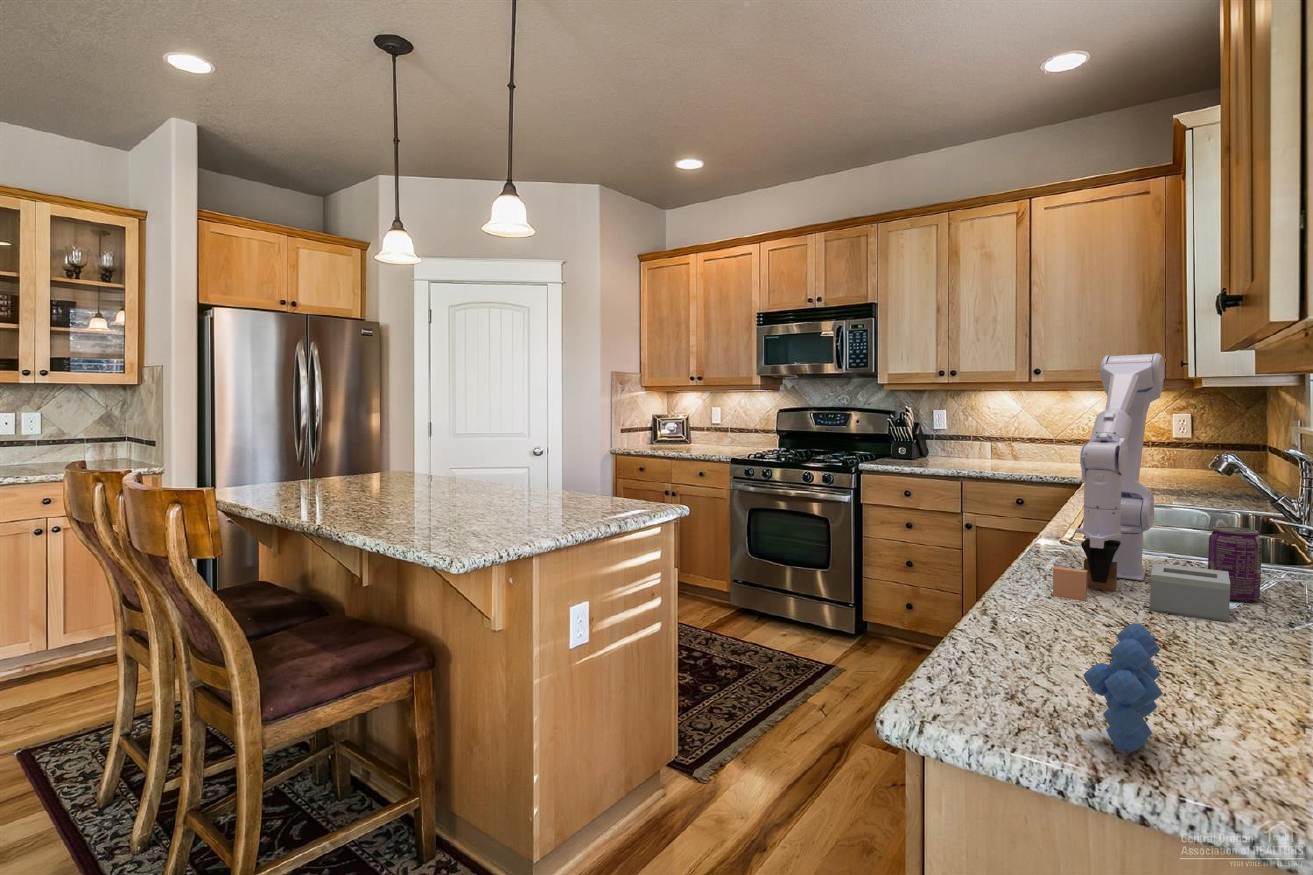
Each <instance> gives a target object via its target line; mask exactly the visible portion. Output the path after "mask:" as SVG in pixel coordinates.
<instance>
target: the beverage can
mask: <svg viewBox="0 0 1313 875" xmlns="http://www.w3.org/2000/svg"><path fill="white" fill-rule="evenodd" d="M1259 534H1260V531H1259V530H1256V529H1253V528H1247V527H1246V528H1245V527H1238V526H1226V525H1223V526H1221V525H1220V526H1213V527H1212V532H1211V534H1209V537H1208V552H1207V553H1208V555H1207V556H1208V557H1207V569H1211V570H1219V571H1228V573H1229V579H1230V601H1235V602H1251V601H1253V600H1257V599H1260V598H1261V582H1262V581H1261V579H1262V578H1261V577H1262V576H1261V574H1262V552H1263V551H1262V550H1263V542H1262V540H1261V538H1260V536H1259Z"/></svg>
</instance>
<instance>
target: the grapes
mask: <svg viewBox="0 0 1313 875" xmlns="http://www.w3.org/2000/svg"><path fill="white" fill-rule="evenodd" d="M1116 638H1117V639H1118V641H1119V642H1118V643H1117V644H1116V645H1114V646H1113V647H1112V648H1111V649H1110V650H1109V652H1110V655H1111V656H1112V657H1111V658H1110V659H1109V660H1110V661H1111V662H1110V663H1109V664H1106V663H1105V662H1099V663H1096V664H1095V665H1092V666H1091V667H1090V668H1089V669H1087V670H1086V671H1085V672H1084V673H1083V674H1082V675H1083V678H1084V680H1085V681H1086V683H1087V685H1088V687H1089V688H1090V690H1092V692H1093V693H1094V694H1097V695H1098V696H1101V697H1104V698H1105V701H1106V702H1105V705H1106V706H1107V707H1108V708H1107V709H1106V710H1105V711H1104V712H1103V713H1102V715H1103V716H1104V719H1105V721H1106V723H1107V724H1108V727H1107V728H1106V729H1105V730H1106V733H1107V735H1108V736H1109V738H1110V740H1111V741H1112V744H1114V746H1115V747H1116V749H1117V750H1119V751H1120V752H1122V753H1125V754H1130V753H1134V752H1136V751H1138V750H1139V749H1140V748H1141V747H1142V746H1144V744H1146V743H1147V742H1148V740H1147V739H1148V738H1149V737H1151V736H1152V734H1153V732H1152V730H1151V729H1150V726H1149V725H1148V723H1147V722H1146V720H1145V719H1144V718H1146V717H1148V716H1149V715H1150V714H1151V713H1152V712H1154V711H1155V710H1157V708H1158V706H1157V704H1156V702H1155V701H1156V700H1157V699H1159V698H1160V697H1161V696H1162V695H1163V692H1162V690H1161V688H1160V687H1159V685H1158V684H1157V682H1156V680H1157V679H1158V678H1159V677H1160V676H1161V673H1160V671H1159V670H1158V668H1157V666H1156V665H1155V663H1153V661H1152V658H1153V657H1154V656H1156V655H1157V654H1158V653H1159V652H1161V649H1160V647H1159V645H1158V643H1157V641H1156V640H1155V639H1154V637H1153V636H1152V634H1151V632H1150V631H1149V630H1148V629H1147V627H1146V626H1144V625H1142V624H1141V623H1138V622H1136V623H1135V622H1134V623H1130V624H1128V625H1127V626H1126V627H1124V628H1123V629H1122V630H1121V631H1119V633H1117V634H1116Z"/></svg>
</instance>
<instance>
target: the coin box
mask: <svg viewBox="0 0 1313 875" xmlns="http://www.w3.org/2000/svg"><path fill="white" fill-rule="evenodd" d="M1149 592H1150V595H1149V596H1150V598H1149V611H1152V612H1157V611H1158V612H1157V613H1164V612H1165V613H1164V614H1170V615H1171V614H1172V615H1177V616H1178V615H1179V616H1184V617H1185V616H1186V617H1192V618H1199V619H1204V620H1210V621H1211V620H1212V621H1219V622H1224V623H1229V622H1230V603H1231V600H1230V579H1229V573H1228V571H1219V570H1211V569H1208V568H1203V567H1202V568H1200V567H1193V566H1192V567H1191V566H1183V565H1175V564H1166V563H1157V562H1154V563H1153V566H1152V570H1151V573H1150V591H1149Z"/></svg>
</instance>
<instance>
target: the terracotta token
mask: <svg viewBox="0 0 1313 875" xmlns="http://www.w3.org/2000/svg"><path fill="white" fill-rule="evenodd" d="M1052 569H1053V570H1052V597H1055V598H1062V597H1063V598H1062V599H1069V600H1076V601H1082V602H1083V601H1084V602H1086V601H1087V599H1088V588H1087V585H1088V570H1084V569H1079V568H1072V567H1065V566H1055V565H1054V567H1053V568H1052Z"/></svg>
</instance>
